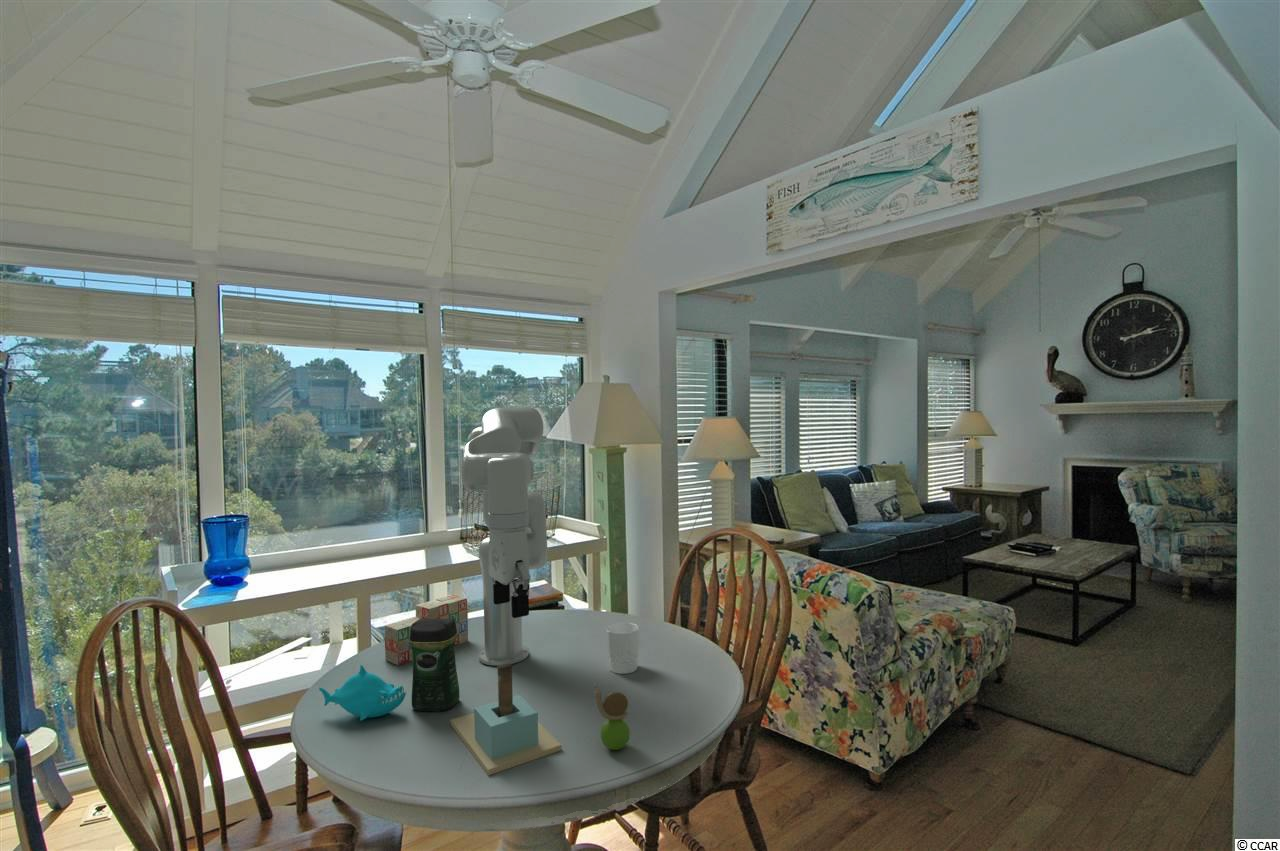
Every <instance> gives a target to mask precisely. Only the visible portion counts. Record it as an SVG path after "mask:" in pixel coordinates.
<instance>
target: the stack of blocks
mask: <svg viewBox="0 0 1280 851" xmlns="http://www.w3.org/2000/svg"><path fill="white" fill-rule="evenodd" d="M451 618H453V619H454V620H455V623H456V628H457V639H456V642H455V646H458V645H460V644H463V643H466V642H469V632H468V631H469V630H468V629H469V627H468V625H469V624H468V619H469V611H468V598H466V597H463V596H459V595H457V594H456V595H455V594H453V595H449V596H443V597H439V598H435V599H433V600H429V601H426V602H422V603H418V604H416V605H415V616H413V617H410V618H406V619H402V620H400V621H395V622H392V623H389V624H385V625H384V636H385V637H384V651H385V652H384V653H385V656H384V657H385V658H384V659H385V661H387V662H390V663H392V664H394V665H396V666H401V665H404V664H406V663H409V662H413V653H412V648H411V646H410V643H409V638H410V629H411V625H412V624H413V623H414V622H416V621H417V620H419V619H451Z"/></svg>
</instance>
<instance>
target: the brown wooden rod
mask: <svg viewBox="0 0 1280 851" xmlns="http://www.w3.org/2000/svg"><path fill="white" fill-rule="evenodd" d="M497 680H498V681H497V685H498V686H497V690H498V692H497V696H498V698H497V701H498V706H499V717H503V716H506V715H509V714H513V697H514V696H513V664H502V665H499V666H497Z"/></svg>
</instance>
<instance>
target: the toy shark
mask: <svg viewBox="0 0 1280 851" xmlns="http://www.w3.org/2000/svg"><path fill="white" fill-rule="evenodd" d="M359 667H360V669H359V672H358V673H356V674H354V675H352V676H350V677H348V678H347V680H346V681H345V682H344V683H343V684H342V686H340V687H339V688H335V691H334V693H333V694H331V693H329V692H328V691H327V690H326V689H325V688H323V687H322V686H321V687H319V688H318V690H319V691H320V693H322V695H323V698H324V707H326V706H327V705H328V704H329V703H334V706H335V705H339V706H340V707H341V708H343V709H344V710H345V711H346V712H347V713H349V714H351V715H353V716H356V717H358V718H359V721H361V722H362V721H363V720H366V718H367V719H368V718H369V719H370V718H378V717H382V716H385V715H387V714H389V713H391V712H393V711H394V710H396V709H397V708H398V707H400V705H402V702H403V701H404V699H405V697H406V695H407V692H406V691H405V687H404V686H403V685H398V686H397V687H395V685H394V683H387V682H385V680H383V678H381V677H380V676H378V675H377V674H375V673H372V672H367V670H366V669H365V667H364V666H363V665H362V664H360V666H359Z"/></svg>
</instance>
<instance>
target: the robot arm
mask: <svg viewBox="0 0 1280 851" xmlns="http://www.w3.org/2000/svg"><path fill="white" fill-rule="evenodd" d="M543 435H544V422H543V417H542V414H541V413H540V412H539V410H538V409H536V408H534V407H531V406H530V407H529V406H525V407H524V406H523V407H522V406H521V407H520V406H518V407H517V406H516V407H515V406H514V407H513V406H512V407H510V406H508V407H507V406H506V407H505V406H504V407H495V408H492V409H489V410H488V411H487V412H485V413H484V415H483V417H482V419H481V425H480V426H479V427H476V428H474V429H473V430H472V432H471V433H470V438H469V440H470V441H468V442H467V443H466V445H465V446H464V448H463V451H462V454H461V464H460V466H461V469H460V471H461V472H460V473H461V474H460V475H461V479H462V480H461V481H462V483H463V486H464V488H466V489H467V490H469V491H472V492H482V508H483V509H482V512H483V521H484V524H485V526H486V527H487V528H488V531H489V536H487V537H485V538H484V539H482V540H481V542H480V543H479V546H478V559H479V565H480V570H481V578H482V591H483V592H482V594H483V595H482V597H483V598H482V599H483V623H484V625H483V627H484V628H483V630H484V631H483V632H484V649H482V650H481V651H480V652H479V654H478V660H479V662H480V663H482V664H484V665H486V666H495V667H498V666H499V665H502V664H511V665H513V664H516V663H519V662H522V661H524V660H525V659H526V658H527V657H528V656H529V648H528V647H527V646H525V645H523V622H522V620H523V617H527V616H529V614H530V602H529V601H530V598H529V596H530V588H531V586H530V585H531V584H530V583H531V582H530V581H531V575H530V571H531V570H539V569H542V568H544V566H546V564H547V562H548V533H547V530H548V529H547V517H546V516H547V515H546V514H547V513H546V505H545V500H544V497H543V496H542V494H541V493H540V492H537V491H532V490H528V487H529V486H530V484H531V482H532V481H533V480H534V475H535V474H534V473H535V468H534V462H533V459H531V458H532V457H535V456H536V455H537V454H538V453H539V452H540V449H541V444H542V440H543ZM530 457H531V458H530ZM527 530H528V531H529V532H527Z"/></svg>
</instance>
